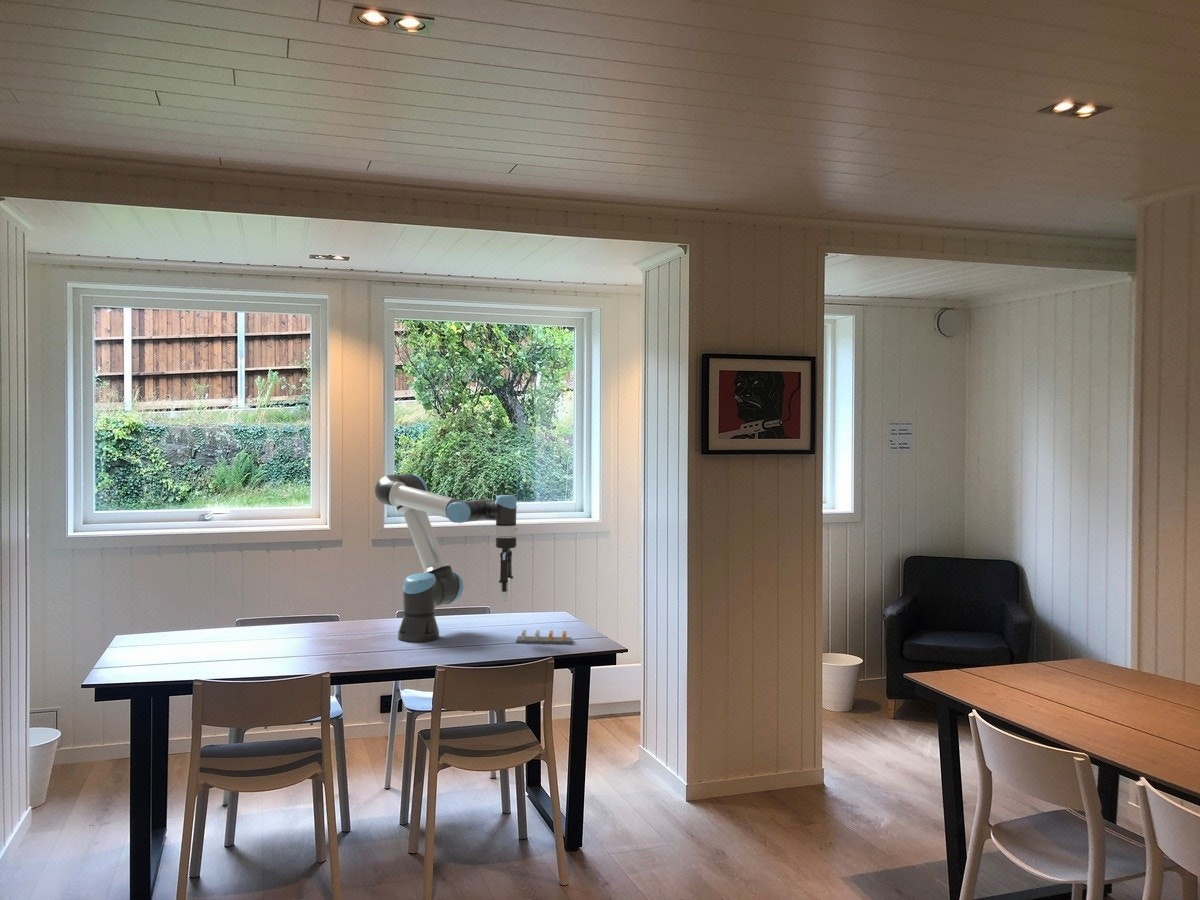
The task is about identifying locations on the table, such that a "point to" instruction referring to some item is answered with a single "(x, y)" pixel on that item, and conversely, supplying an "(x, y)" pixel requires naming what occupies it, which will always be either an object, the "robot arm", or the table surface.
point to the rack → (544, 638)
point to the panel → (508, 588)
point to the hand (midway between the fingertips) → (506, 598)
